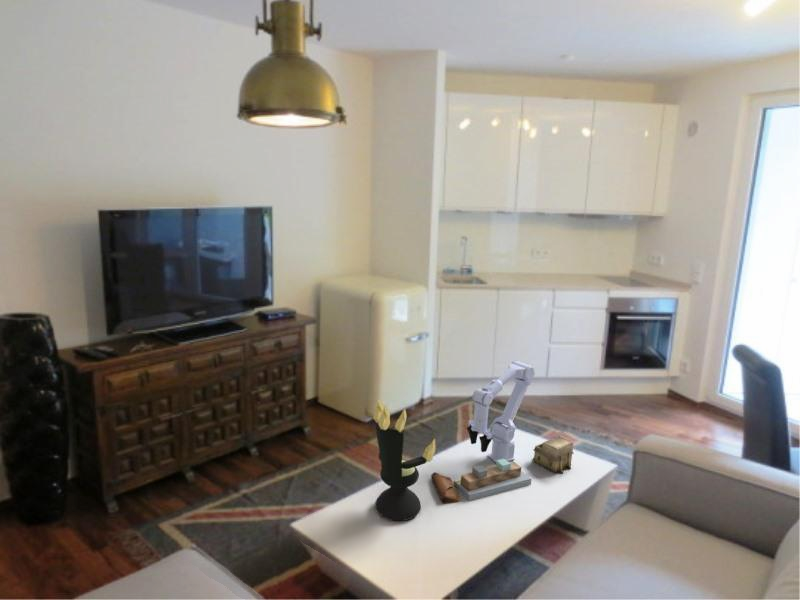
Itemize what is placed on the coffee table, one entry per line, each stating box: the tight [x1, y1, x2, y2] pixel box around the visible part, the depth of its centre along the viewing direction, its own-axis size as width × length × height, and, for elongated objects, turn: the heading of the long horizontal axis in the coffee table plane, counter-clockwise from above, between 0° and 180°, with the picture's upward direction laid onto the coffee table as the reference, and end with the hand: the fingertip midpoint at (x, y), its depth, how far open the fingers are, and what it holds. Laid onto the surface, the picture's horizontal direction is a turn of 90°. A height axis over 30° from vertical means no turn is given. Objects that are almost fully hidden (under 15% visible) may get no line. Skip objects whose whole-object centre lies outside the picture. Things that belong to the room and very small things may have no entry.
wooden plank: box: [460, 460, 522, 491], centre depth 221 cm, size 26×6×4 cm, turn 119°
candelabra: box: [373, 397, 436, 522], centre depth 197 cm, size 19×22×45 cm
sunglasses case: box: [430, 471, 462, 505], centre depth 217 cm, size 18×7×7 cm
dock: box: [453, 470, 532, 502], centre depth 222 cm, size 30×11×3 cm, turn 117°
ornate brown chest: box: [532, 435, 574, 475], centre depth 241 cm, size 15×14×11 cm
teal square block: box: [495, 459, 511, 471], centre depth 223 cm, size 4×4×2 cm
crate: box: [471, 464, 487, 478], centre depth 218 cm, size 4×4×2 cm
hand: (478, 447), depth 234 cm, fingers open, 7 cm apart
